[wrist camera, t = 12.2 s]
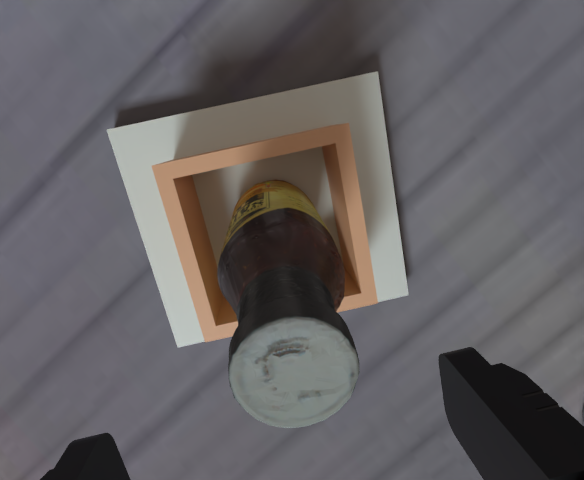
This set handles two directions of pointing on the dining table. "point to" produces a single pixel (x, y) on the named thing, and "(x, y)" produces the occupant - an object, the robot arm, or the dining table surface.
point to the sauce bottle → (286, 309)
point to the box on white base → (256, 169)
